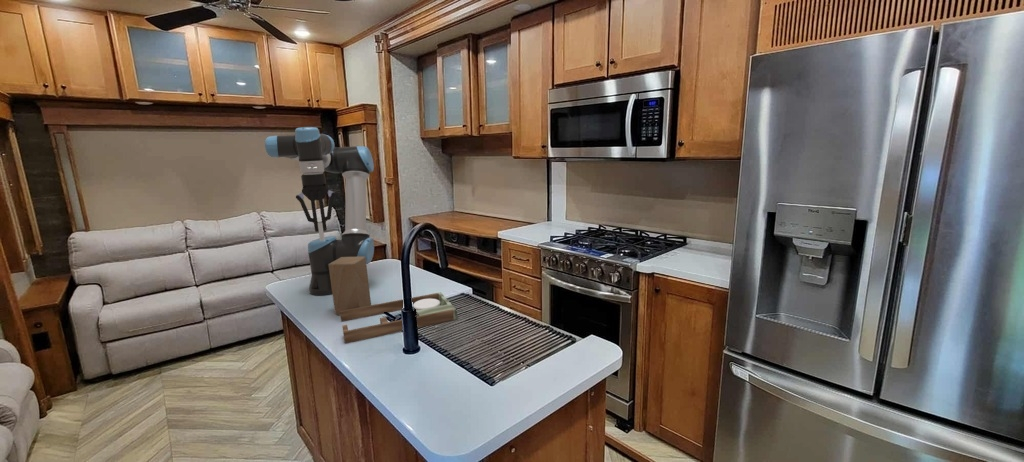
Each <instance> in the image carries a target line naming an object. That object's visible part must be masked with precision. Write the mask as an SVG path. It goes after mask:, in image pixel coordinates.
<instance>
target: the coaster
mask: <svg viewBox="0 0 1024 462" xmlns="http://www.w3.org/2000/svg"><path fill="white" fill-rule="evenodd" d="M438 306H441V304H440V301H439V300H437V299H422V300H419V301H417V302H415V303H414V304H413V307H414V308H415V309H416V311H418V310H423V309H428V308H433V307H438Z"/></svg>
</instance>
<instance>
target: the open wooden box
mask: <svg viewBox="0 0 1024 462" xmlns="http://www.w3.org/2000/svg"><path fill="white" fill-rule="evenodd" d="M411 298H412V302H413V304H414V303H415V302H417V301H419V300H422V299H437V300H439V301H440V306H438V307H433V308H428V309H423V310H418V311H416V312H417V315H416V316H417V324H418V328H422V327H423V328H424V327H427V326H431V325H436V324H442V323H444V322H445V323H447V322H450V321H454V320H457V319H458V315H457V314H458V313H457V308H456V307H455V306H454V305H453V304H452V303H451V302H450V301H449V300H448V299H447V298H446V296H445V295H444V294H443V293H442V292H435V293H430V294H425V295H420V296H414V297H413V296H412V297H411ZM402 308H403V299H398V300H393V301H392V300H391V301H387V302H382V303H376V304H371V305H370V306H365V307H359V308H354V309H349V310H343V311H340V315H339V316H340V322H341V323H342V322H347V321H352V320H356V319H361V318H366V317H372V316H377V315H382V314H385V313H384V312H388V313H391V312H392V313H393V312H397V311H401V310H402ZM402 311H403V310H402ZM379 321H380V322H379V324H378V323H377V324H375V325H374V324H373V325H368V326H364V327H359V328H353V329H349V327H348V324H344V325H342V335H343V339H344V344H348V343H354V342H359V341H364V340H366V339H367V340H368V339H371V338H377V337H382V336H386V335H391V334H395V333H400V332H403V331H402V319H398V320H392V321H388V319H387V317H386V316H384V317H383V316H382V317H379ZM418 328H417V329H418Z"/></svg>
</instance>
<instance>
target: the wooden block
mask: <svg viewBox="0 0 1024 462" xmlns="http://www.w3.org/2000/svg"><path fill="white" fill-rule="evenodd" d="M367 266H368V264H366V257H341V258H339V259H337V260H335V261H333V262H331V263H330V264H329V272H330V280H331V287H332V294H331V295H332V301H333V307H334V314H335V315H336V316H338V315H339V316H340V311H343V310H349V309H354V308H359V307H365V306H370V305H372V301H371V292H370V284H369V276H368V268H367Z"/></svg>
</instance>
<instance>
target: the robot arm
mask: <svg viewBox="0 0 1024 462" xmlns="http://www.w3.org/2000/svg"><path fill="white" fill-rule="evenodd" d="M294 134H295V135H294ZM294 134H293V135H292V134H291V135H290V134H289V135H278V134H277V135H269V136H267V137H266V139H265V141H264V149H265V152H266V154H267V155H268V156H269V157H271V158H287V159H290V160H294V161H296V162H298V165H299V169H300V173H301V174H302V175H300V178H301V184H302V189H301V192H300V193H298V194H296V195H295V199H297V201H298V202H299V204H300V205H301V208H302V210H303V213H304V215H305V218H306V220H307V222H309V223H313V225H314V226H313V227H314V231H315V232H316V233H317V232H318V236H319V238H316V239H314V240H312V241H310V242H308V243H307V254H308V260H309V265H310V272H311V277H310V281H309V288H308V290H309V294H311V295H314V296H326V295H333V294H332V287H331V280H330V272H329V264H330V263H331V262H333V261H335V260H337V259H339V258H341V257H366V265H369V264H370V263H371V261H372V260H373V258H374V254H375V242H374V239H373V238H371V237H370V233H369V232H368V231H367V230H366V229H367V185H366V184H367V179H369V178H370V173H372V172H374V169H375V164H374V159H373V155H372V153H371V151H370V149H369V148H368V147H367V146H362V145H361V146H360V145H359V146H358V145H356V146H339V147H338V146H335V142H334V141H335V140H334V139H333V137H331V136H330V135H327V134H324V133H320V130H319V128H318V127H311V126H307V127H297V128H295V130H294ZM324 172H328V173H332V174H341V176H342V177H343V178H344V179H345V214H344V215H345V219H344V220H345V221H344V222H345V223H344V224H345V227H344V229H345V230H344V231H343V233H342V234H341V238H340V239H338V238H337V237H336V236H335V235H329V236H325V232H327V229H328V228H327V223H326V222H327V221H330V220H331V219H332V211H333V203H334V199H335V197H336V196H337V195H336V192H335V191H332V190H329V187H328V186H327V180H326V179H327V178H326V174H325V173H324ZM327 195H328V197H329V198H328V204H327V213H326V214H325V208H324V201H323V200H324V199H325V198H326V196H327ZM305 197H306V199H308V200H309V201H310V205H311V212H312V217H311V214H310V211H309V209H308V207H307V205H306V203H305V200H304V199H305ZM315 201H318V205H319V211H320V219H321V221H318V217H317V215H318V214H317V207H316V202H315Z"/></svg>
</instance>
